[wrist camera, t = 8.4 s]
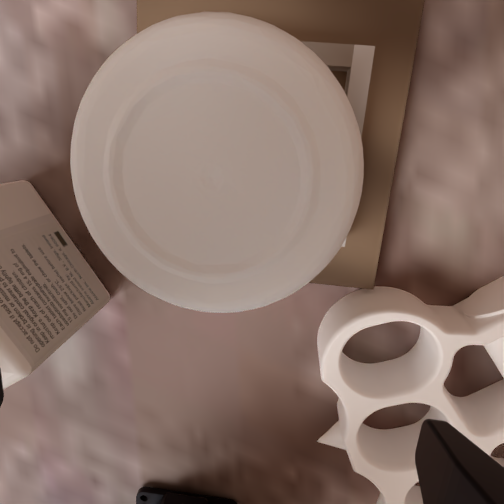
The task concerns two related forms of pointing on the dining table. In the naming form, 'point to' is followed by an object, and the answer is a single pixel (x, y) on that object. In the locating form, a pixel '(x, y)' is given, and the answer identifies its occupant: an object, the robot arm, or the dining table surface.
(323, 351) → the white compartment tray
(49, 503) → the dining table surface
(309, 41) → the brown flat square frame
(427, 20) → the dining table surface
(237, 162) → the sprinkles bottle
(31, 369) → the container
